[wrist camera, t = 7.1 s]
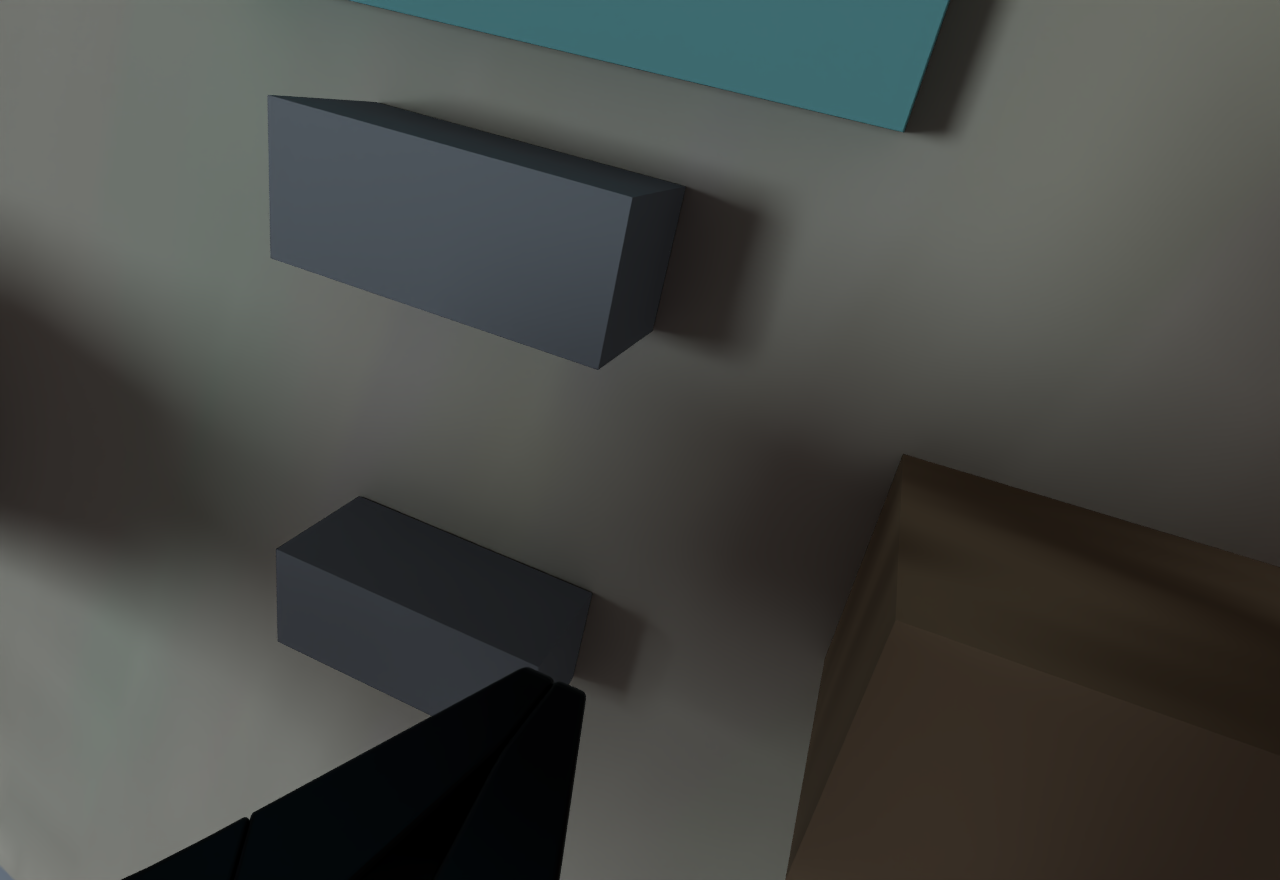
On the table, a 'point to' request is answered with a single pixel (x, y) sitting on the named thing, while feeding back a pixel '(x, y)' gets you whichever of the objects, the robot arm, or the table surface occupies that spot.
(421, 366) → the table surface
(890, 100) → the pad
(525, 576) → the grey blocks
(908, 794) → the walnut block
